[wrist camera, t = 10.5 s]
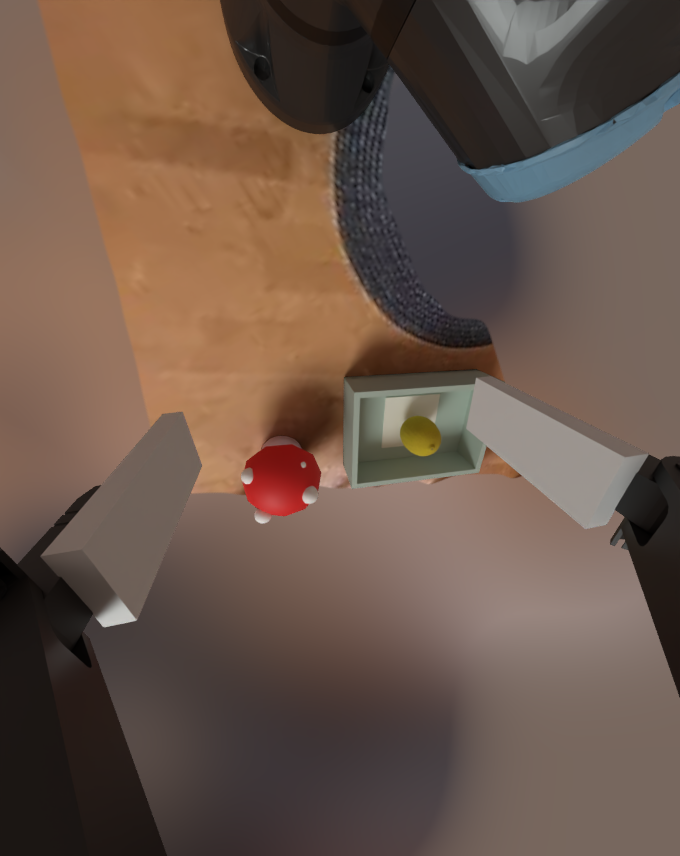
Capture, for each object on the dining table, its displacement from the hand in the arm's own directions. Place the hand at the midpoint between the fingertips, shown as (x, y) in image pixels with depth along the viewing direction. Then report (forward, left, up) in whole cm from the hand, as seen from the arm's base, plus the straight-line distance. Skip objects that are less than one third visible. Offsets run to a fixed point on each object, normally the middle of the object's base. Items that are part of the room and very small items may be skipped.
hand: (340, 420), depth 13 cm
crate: (+15, +17, -28) cm, 35 cm away
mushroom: (+19, -4, -28) cm, 34 cm away
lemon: (+15, +16, -27) cm, 35 cm away
